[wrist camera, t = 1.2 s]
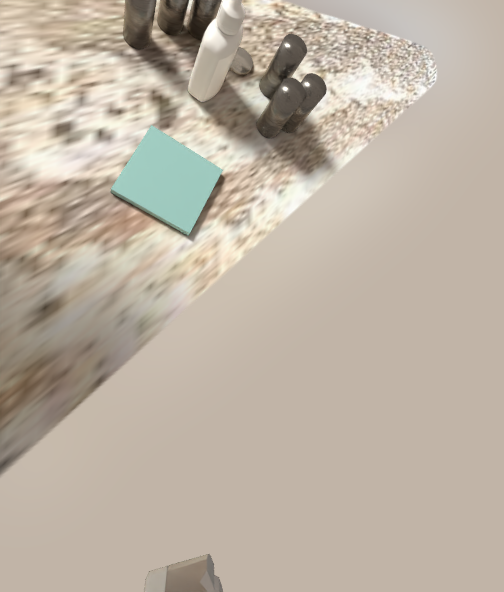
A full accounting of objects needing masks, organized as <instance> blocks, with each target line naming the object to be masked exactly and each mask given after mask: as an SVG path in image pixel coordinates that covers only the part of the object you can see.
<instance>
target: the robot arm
mask: <svg viewBox="0 0 504 592" xmlns="http://www.w3.org/2000/svg"><path fill="white" fill-rule="evenodd" d="M144 592H223V589H222V585H221V582H220V579H219V577H217V576H215V575H214V563H213V561H212V558H211V556H210V555H209V554H207V555H203V556H200V557H196V558H193V559H189V560H186V561H183V562H179V563H176V564H172V565H169V566H166V567H162V568H159V569H156V570H152V571H149V573H148V575H147V578H146V581H145V588H144Z"/></svg>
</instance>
